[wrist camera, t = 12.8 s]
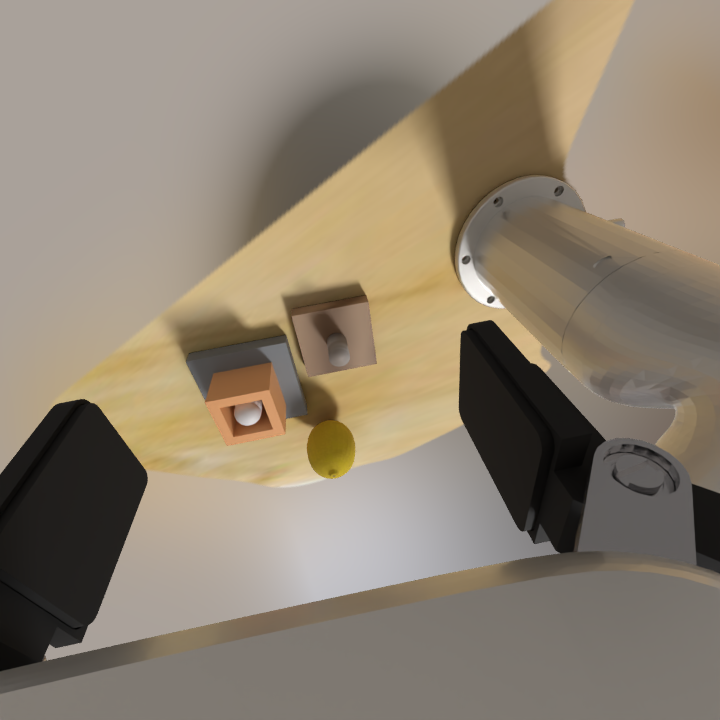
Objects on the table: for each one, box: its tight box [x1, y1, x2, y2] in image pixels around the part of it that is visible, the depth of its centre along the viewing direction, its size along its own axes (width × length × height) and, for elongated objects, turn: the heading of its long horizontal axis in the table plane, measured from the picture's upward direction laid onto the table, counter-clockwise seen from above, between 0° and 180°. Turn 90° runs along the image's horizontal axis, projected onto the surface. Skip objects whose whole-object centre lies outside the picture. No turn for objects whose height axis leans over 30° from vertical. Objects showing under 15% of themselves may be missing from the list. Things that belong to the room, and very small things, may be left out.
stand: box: [292, 295, 377, 377], centre depth 38 cm, size 8×8×4 cm
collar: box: [205, 362, 286, 446], centre depth 38 cm, size 6×6×4 cm
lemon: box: [307, 420, 355, 479], centre depth 43 cm, size 6×6×8 cm
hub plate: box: [186, 335, 307, 426], centre depth 39 cm, size 10×10×6 cm
